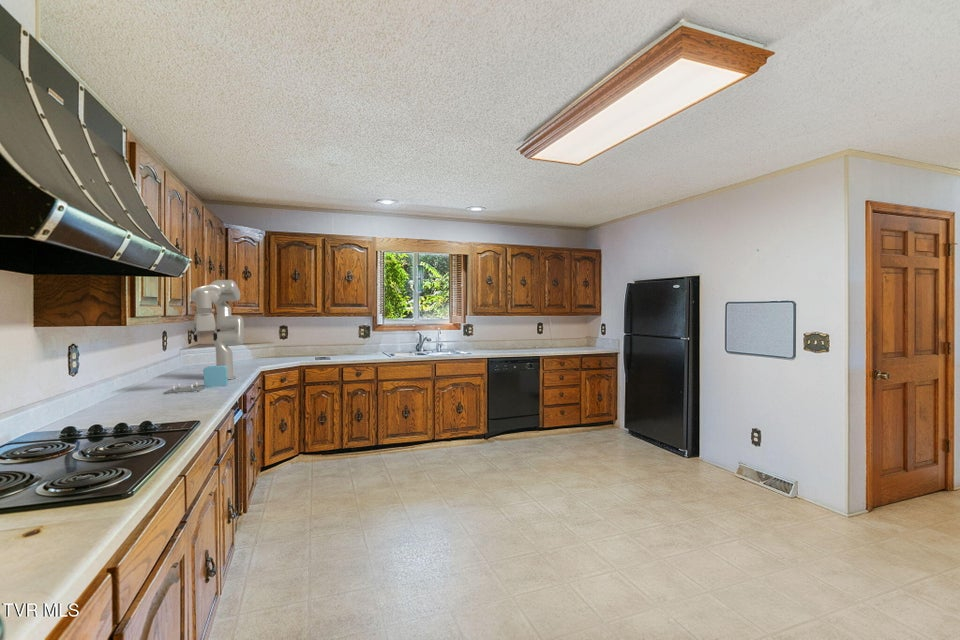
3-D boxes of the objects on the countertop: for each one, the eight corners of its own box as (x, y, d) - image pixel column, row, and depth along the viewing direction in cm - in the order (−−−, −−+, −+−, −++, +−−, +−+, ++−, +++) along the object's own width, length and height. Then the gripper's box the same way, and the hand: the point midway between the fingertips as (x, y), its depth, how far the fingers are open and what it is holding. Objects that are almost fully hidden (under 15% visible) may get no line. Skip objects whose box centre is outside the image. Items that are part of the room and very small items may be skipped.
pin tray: (173, 389, 265) (172, 383, 265) (205, 387, 270) (205, 381, 270) (163, 394, 252) (163, 387, 252) (198, 391, 256) (197, 384, 256)
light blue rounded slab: (228, 384, 279) (227, 365, 279) (226, 385, 275) (226, 366, 275) (205, 386, 275) (204, 366, 275) (204, 387, 271) (203, 367, 270)
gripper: (219, 311, 271) (220, 339, 271) (185, 311, 258) (186, 342, 259) (222, 311, 265) (224, 340, 266) (188, 311, 253) (190, 342, 254)
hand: (205, 341), depth 263 cm, fingers open, 9 cm apart
